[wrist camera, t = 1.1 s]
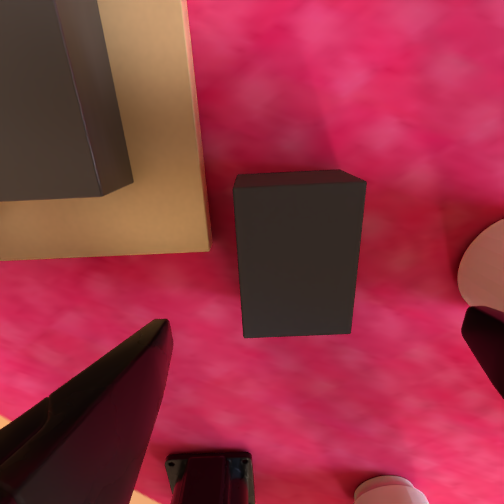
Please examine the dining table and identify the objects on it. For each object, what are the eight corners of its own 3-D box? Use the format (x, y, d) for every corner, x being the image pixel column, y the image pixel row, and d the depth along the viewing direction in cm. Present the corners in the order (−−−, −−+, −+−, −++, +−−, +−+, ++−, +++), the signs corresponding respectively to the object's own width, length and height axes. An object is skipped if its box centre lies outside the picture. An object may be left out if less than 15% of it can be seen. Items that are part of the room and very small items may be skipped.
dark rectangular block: (331, 294, 17) (351, 334, 13) (244, 298, 17) (243, 339, 13) (340, 169, 14) (367, 180, 11) (236, 174, 14) (232, 187, 11)
